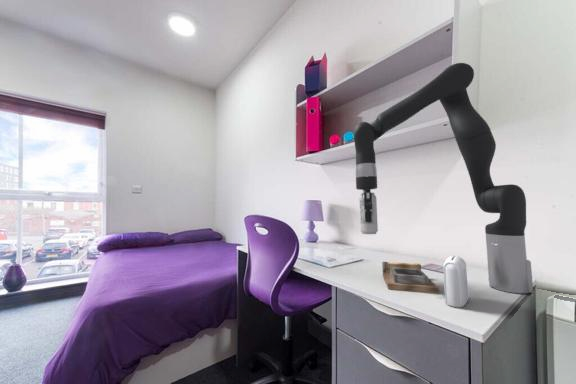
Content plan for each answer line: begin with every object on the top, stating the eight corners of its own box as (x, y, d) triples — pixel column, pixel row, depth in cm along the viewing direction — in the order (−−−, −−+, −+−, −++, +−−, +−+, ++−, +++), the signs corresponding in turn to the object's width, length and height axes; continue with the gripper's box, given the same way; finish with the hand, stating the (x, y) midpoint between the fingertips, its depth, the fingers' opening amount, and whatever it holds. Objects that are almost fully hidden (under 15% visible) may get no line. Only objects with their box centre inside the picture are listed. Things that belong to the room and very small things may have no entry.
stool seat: (425, 281, 80) (425, 268, 80) (438, 294, 68) (438, 279, 68) (383, 278, 84) (382, 265, 84) (388, 290, 72) (387, 275, 72)
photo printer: (451, 294, 68) (449, 252, 69) (470, 298, 65) (467, 254, 65) (443, 305, 60) (440, 258, 61) (463, 310, 57) (460, 260, 58)
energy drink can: (380, 233, 83) (379, 192, 84) (372, 234, 79) (371, 192, 80) (365, 232, 88) (364, 193, 89) (357, 233, 84) (356, 193, 85)
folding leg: (383, 277, 84) (382, 262, 85) (382, 275, 86) (381, 261, 87) (421, 279, 82) (420, 264, 82) (419, 277, 84) (418, 263, 84)
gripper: (355, 179, 93) (357, 220, 92) (355, 174, 79) (357, 222, 78) (375, 178, 91) (377, 220, 90) (378, 173, 77) (381, 222, 76)
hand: (367, 221), depth 84 cm, fingers closed on energy drink can, 6 cm apart
